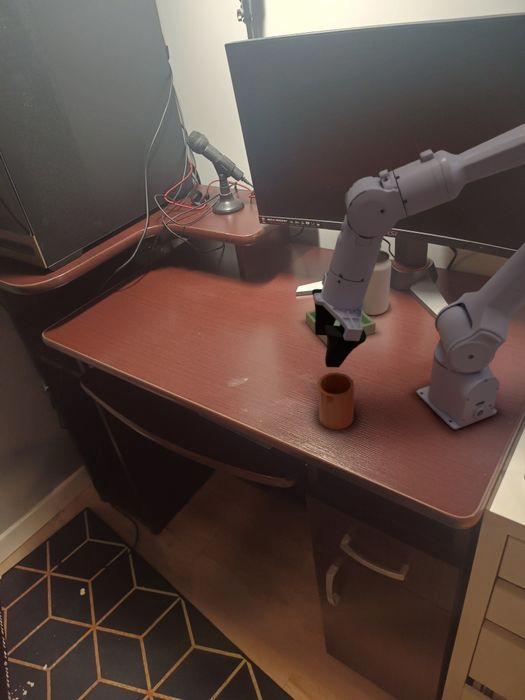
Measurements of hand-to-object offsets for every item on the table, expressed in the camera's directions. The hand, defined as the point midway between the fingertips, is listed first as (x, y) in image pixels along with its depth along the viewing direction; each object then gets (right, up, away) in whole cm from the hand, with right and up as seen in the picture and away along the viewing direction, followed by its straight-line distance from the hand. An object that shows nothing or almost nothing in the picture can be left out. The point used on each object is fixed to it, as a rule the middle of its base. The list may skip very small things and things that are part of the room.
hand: (326, 349), depth 71 cm
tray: (+6, +4, +23) cm, 24 cm away
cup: (+2, -11, +3) cm, 11 cm away
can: (+14, +9, +27) cm, 32 cm away
